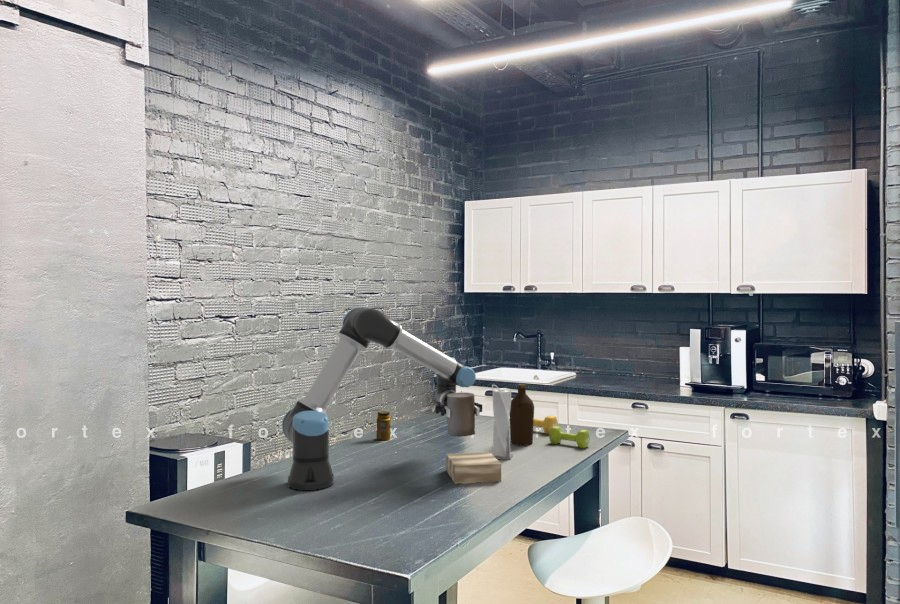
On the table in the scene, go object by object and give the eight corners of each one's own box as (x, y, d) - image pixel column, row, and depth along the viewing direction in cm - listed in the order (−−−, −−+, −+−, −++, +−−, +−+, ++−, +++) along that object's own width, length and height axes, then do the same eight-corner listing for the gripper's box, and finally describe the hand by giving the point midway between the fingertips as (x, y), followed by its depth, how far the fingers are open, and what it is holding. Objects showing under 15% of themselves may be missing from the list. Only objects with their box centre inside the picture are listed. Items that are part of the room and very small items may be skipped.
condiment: (394, 438, 278) (394, 411, 277) (384, 443, 270) (384, 414, 270) (379, 437, 280) (379, 410, 280) (369, 441, 273) (369, 413, 272)
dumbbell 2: (591, 446, 265) (591, 429, 265) (583, 450, 259) (583, 432, 259) (555, 440, 275) (555, 424, 275) (547, 444, 269) (547, 427, 268)
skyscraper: (488, 457, 246) (489, 385, 245) (493, 452, 253) (493, 382, 253) (510, 459, 243) (510, 386, 243) (514, 454, 251) (514, 383, 251)
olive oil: (537, 445, 266) (538, 385, 266) (514, 446, 264) (514, 386, 263) (528, 439, 277) (528, 382, 276) (505, 440, 274) (505, 383, 274)
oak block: (501, 481, 215) (501, 463, 215) (454, 483, 212) (454, 465, 212) (489, 468, 231) (489, 452, 231) (446, 470, 228) (446, 453, 228)
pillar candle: (479, 432, 224) (478, 389, 223) (468, 437, 215) (467, 393, 215) (454, 429, 228) (453, 388, 228) (442, 435, 219) (441, 392, 219)
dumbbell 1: (514, 430, 296) (514, 412, 296) (525, 427, 303) (525, 410, 303) (549, 436, 284) (549, 418, 284) (559, 433, 291) (560, 415, 290)
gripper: (479, 410, 241) (495, 422, 219) (422, 412, 237) (431, 425, 215) (479, 390, 241) (495, 400, 219) (422, 392, 237) (431, 403, 215)
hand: (463, 413), depth 217 cm, fingers closed on pillar candle, 9 cm apart
